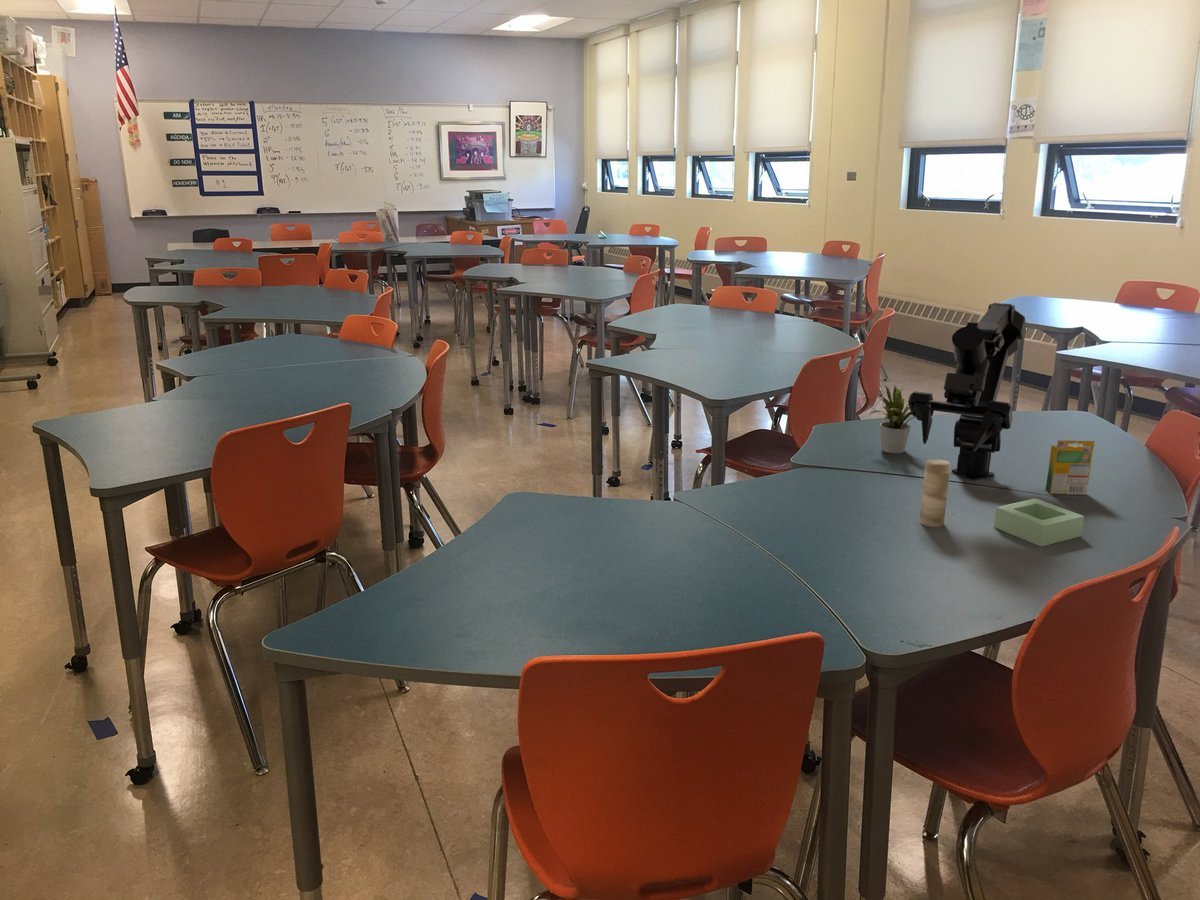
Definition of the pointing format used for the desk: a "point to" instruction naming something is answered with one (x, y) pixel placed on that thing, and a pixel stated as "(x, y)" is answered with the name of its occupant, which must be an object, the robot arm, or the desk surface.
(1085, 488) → the crayon box
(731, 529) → the desk surface
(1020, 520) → the pale green square holder
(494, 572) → the desk surface
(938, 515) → the beige ridged cylinder
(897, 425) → the house plant
